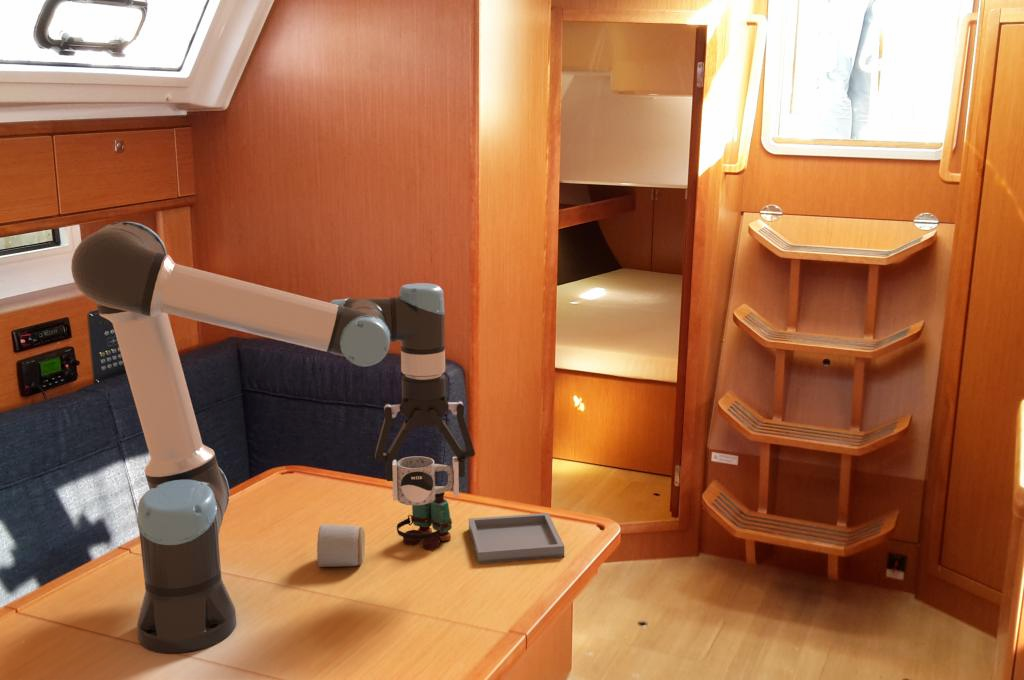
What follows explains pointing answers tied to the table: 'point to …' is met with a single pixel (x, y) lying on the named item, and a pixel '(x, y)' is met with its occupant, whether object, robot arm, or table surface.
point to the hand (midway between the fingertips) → (425, 495)
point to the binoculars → (428, 523)
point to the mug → (420, 480)
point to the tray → (515, 538)
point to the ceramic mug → (340, 545)
